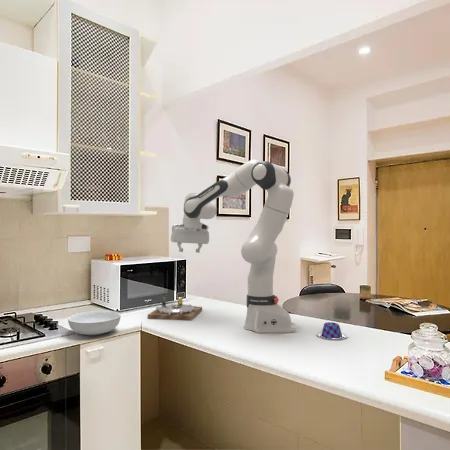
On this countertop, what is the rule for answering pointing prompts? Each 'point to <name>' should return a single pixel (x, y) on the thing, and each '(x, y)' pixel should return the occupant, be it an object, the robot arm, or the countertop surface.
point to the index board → (174, 316)
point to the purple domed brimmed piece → (331, 331)
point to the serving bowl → (94, 322)
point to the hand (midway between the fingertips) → (189, 252)
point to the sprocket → (176, 308)
